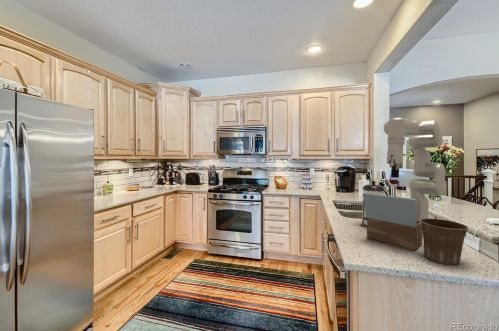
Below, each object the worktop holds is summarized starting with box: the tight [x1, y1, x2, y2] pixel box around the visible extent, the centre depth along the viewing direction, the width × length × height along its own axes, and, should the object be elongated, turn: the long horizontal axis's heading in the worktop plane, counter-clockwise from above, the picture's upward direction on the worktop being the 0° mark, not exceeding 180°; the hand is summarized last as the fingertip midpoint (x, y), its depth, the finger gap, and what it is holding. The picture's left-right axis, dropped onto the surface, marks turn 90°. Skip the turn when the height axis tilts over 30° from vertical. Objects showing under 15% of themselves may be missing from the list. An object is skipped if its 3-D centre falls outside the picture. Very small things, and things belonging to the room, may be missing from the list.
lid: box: [364, 193, 417, 227], centre depth 116 cm, size 14×23×1 cm
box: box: [366, 218, 423, 252], centre depth 122 cm, size 14×22×12 cm, turn 42°
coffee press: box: [360, 180, 386, 227], centre depth 149 cm, size 17×16×30 cm
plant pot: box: [420, 217, 469, 266], centre depth 101 cm, size 16×16×16 cm
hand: (394, 177), depth 120 cm, fingers closed
